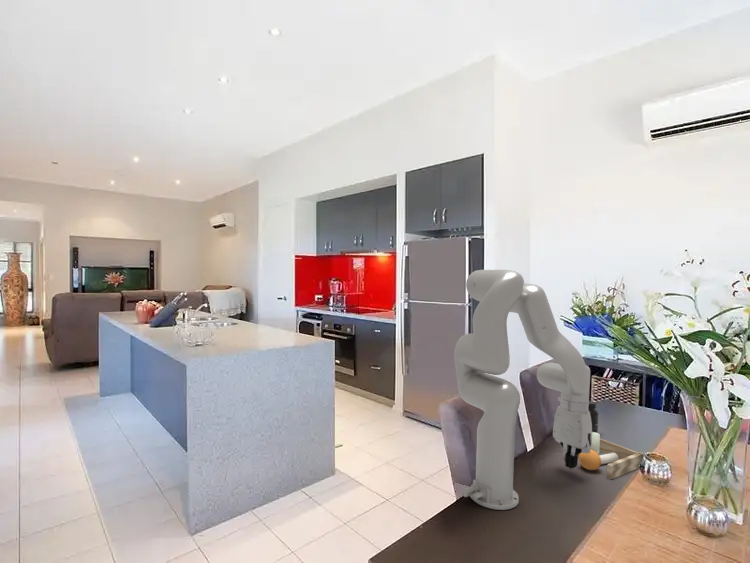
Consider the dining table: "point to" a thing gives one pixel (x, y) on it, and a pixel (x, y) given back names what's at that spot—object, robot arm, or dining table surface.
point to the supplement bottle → (593, 416)
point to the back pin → (595, 442)
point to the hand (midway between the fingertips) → (570, 466)
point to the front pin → (608, 458)
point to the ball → (590, 460)
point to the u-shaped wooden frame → (627, 459)
